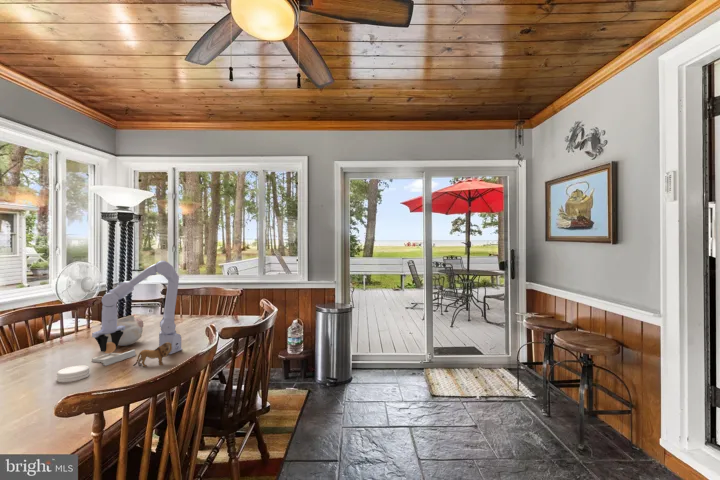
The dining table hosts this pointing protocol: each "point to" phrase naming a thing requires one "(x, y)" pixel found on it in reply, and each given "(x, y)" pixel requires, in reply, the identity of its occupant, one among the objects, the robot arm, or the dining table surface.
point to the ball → (110, 347)
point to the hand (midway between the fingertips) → (109, 349)
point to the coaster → (73, 373)
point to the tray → (103, 357)
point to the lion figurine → (155, 354)
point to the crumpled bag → (129, 330)
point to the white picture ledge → (119, 357)
